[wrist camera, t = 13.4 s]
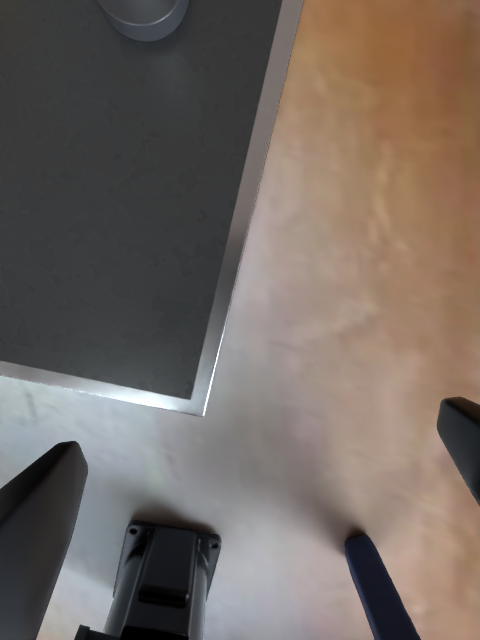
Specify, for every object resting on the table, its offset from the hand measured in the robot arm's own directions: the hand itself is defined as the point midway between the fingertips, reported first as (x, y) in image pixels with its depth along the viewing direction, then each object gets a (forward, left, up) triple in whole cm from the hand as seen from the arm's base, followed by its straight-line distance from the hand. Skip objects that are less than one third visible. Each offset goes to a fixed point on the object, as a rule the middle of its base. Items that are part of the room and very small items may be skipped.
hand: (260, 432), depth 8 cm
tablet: (+6, +10, -12) cm, 17 cm away
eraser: (-14, -12, -12) cm, 22 cm away
